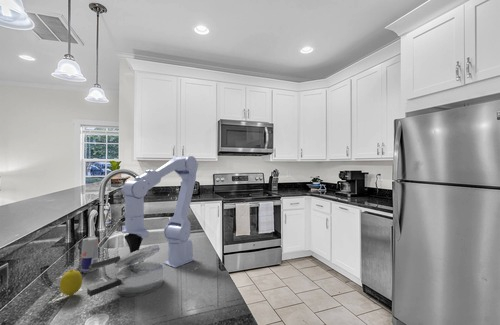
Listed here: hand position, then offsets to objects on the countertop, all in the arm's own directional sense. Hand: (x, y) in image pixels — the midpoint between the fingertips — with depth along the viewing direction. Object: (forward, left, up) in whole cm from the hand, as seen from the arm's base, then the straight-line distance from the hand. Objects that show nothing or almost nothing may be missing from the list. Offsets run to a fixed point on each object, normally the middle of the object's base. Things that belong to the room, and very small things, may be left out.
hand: (134, 255), depth 82 cm
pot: (+4, +4, -9) cm, 11 cm away
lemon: (+16, -7, -9) cm, 20 cm away
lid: (+4, +3, 0) cm, 4 cm away
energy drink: (+5, -24, -9) cm, 27 cm away
